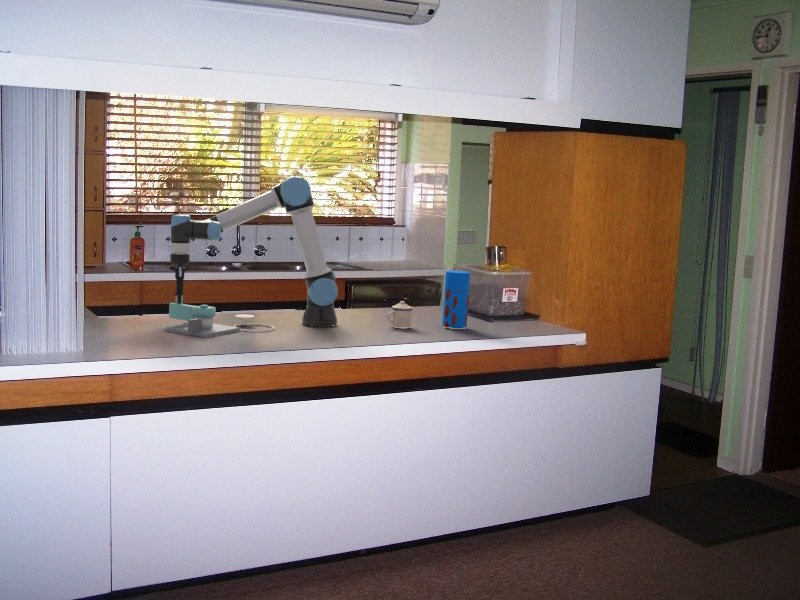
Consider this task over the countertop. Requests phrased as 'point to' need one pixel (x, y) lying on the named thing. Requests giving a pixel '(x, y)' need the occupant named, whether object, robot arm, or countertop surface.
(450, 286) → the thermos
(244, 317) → the hand towel holder
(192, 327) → the post board
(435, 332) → the countertop surface
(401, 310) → the teacup with lid
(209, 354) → the countertop surface
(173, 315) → the domed saucepan
